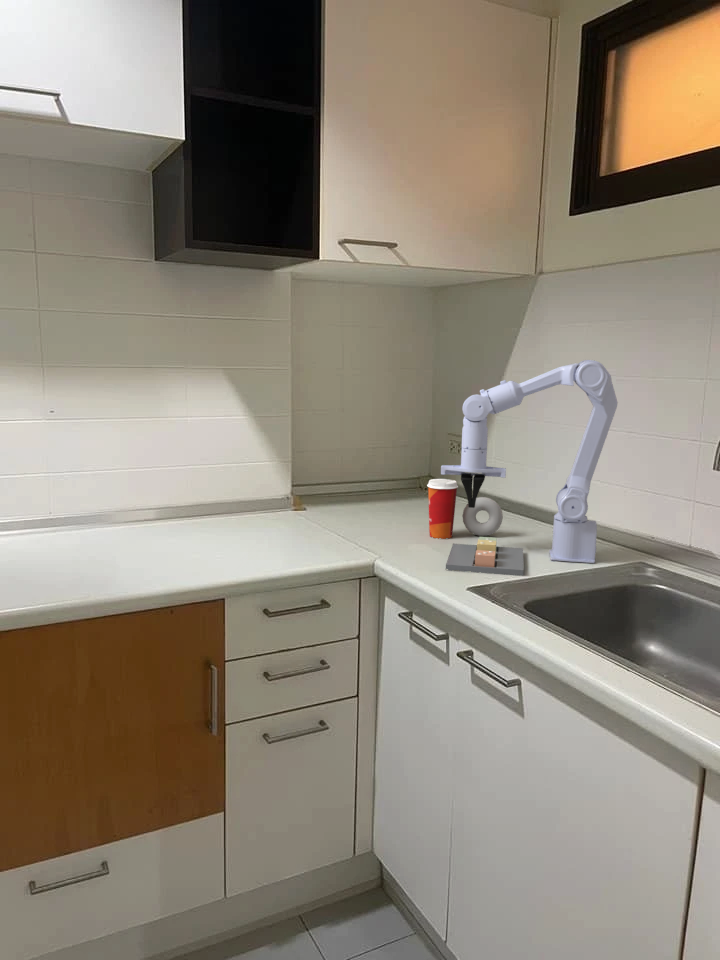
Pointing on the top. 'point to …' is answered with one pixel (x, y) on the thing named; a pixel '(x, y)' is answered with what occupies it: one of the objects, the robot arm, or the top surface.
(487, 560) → the tile three pips
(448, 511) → the paper cup
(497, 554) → the grey slotted tray
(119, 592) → the top surface
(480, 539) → the tile one pip
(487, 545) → the tile two pips
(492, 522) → the donut
